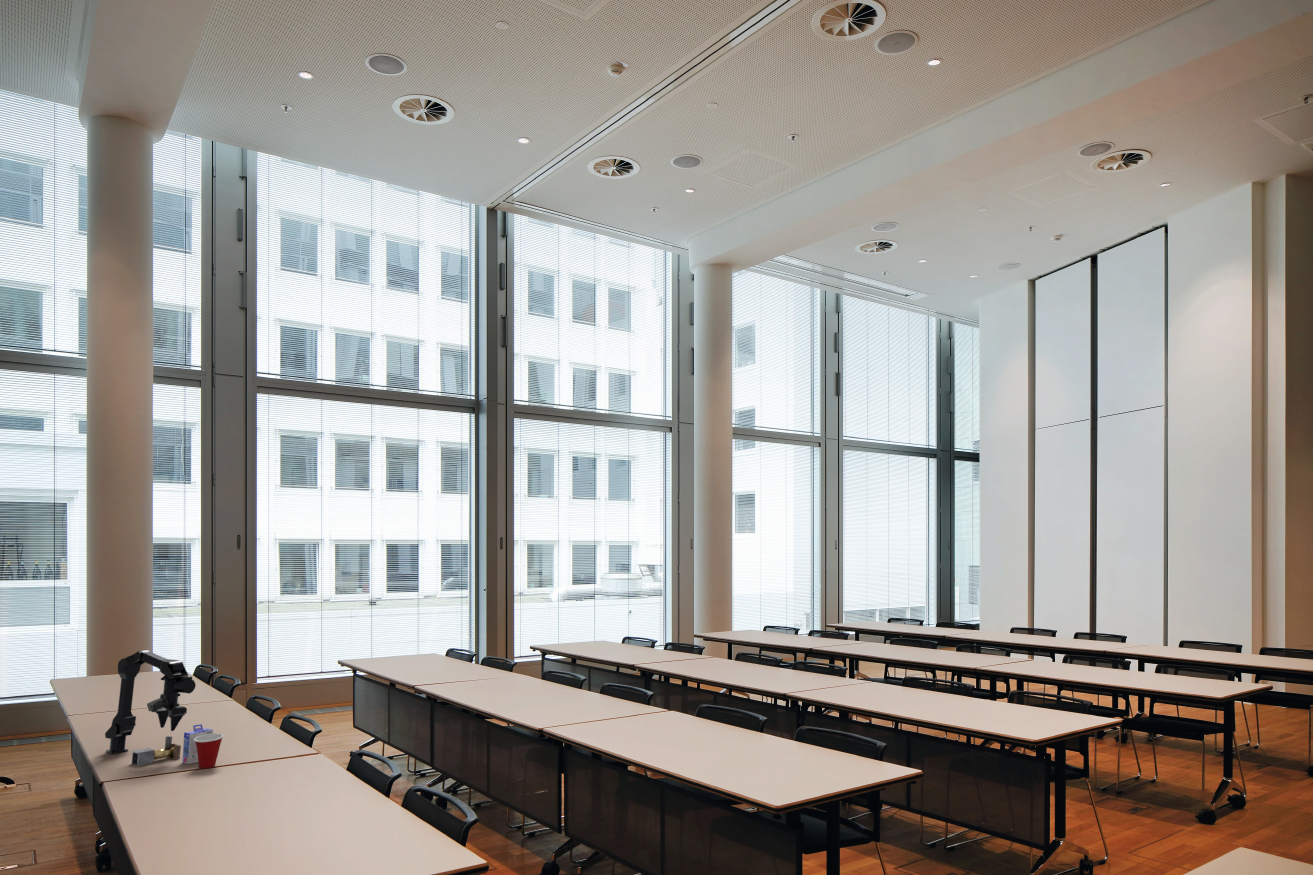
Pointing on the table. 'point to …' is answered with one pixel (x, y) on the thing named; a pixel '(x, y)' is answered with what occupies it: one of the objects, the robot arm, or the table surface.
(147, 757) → the grey hammer head
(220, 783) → the table surface
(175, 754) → the socket block
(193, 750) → the ink cartridge box
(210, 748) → the plastic cup
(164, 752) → the gold elongated piece
